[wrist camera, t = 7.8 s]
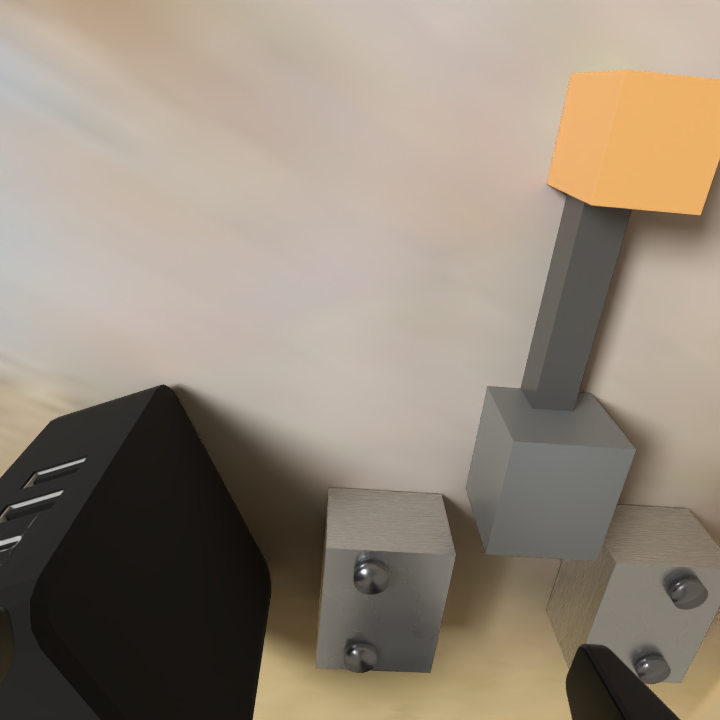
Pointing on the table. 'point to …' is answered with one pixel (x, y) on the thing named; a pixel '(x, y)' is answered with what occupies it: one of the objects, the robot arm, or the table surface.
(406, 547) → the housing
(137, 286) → the table surface
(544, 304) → the orange and grey dumbbell
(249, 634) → the electronic device
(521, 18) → the table surface
